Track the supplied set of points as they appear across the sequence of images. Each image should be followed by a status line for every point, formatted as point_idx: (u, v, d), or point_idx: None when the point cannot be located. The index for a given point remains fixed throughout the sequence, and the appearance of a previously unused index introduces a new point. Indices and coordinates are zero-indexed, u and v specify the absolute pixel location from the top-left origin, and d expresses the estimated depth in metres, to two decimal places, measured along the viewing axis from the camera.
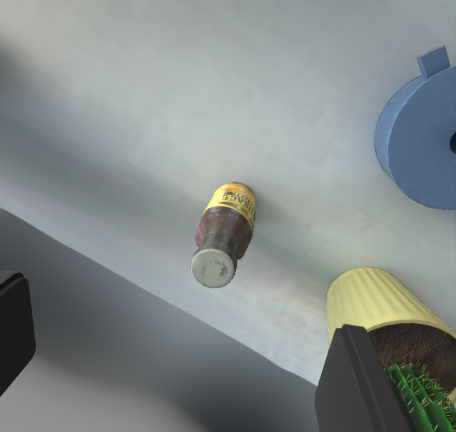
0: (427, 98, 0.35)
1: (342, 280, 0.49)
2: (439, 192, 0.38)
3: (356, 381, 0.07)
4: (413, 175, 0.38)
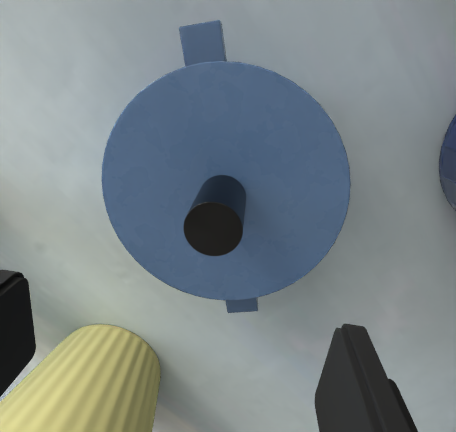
0: (170, 103, 0.19)
1: (70, 338, 0.33)
2: (178, 264, 0.23)
3: (356, 381, 0.07)
4: (141, 226, 0.23)
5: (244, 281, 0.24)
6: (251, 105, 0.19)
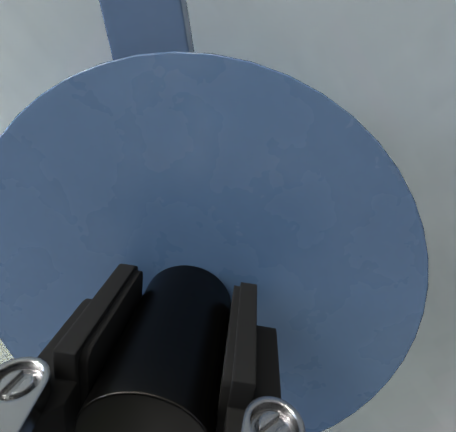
0: (80, 134, 0.10)
1: None
2: None
3: (229, 323, 0.09)
4: (49, 341, 0.13)
5: None
6: (239, 141, 0.10)
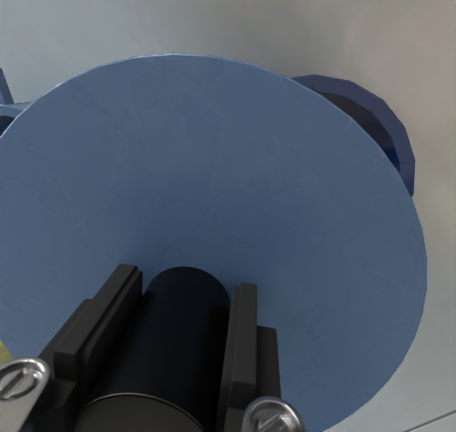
0: (79, 136, 0.10)
1: None
2: None
3: (230, 323, 0.09)
4: (48, 342, 0.13)
5: None
6: (238, 142, 0.10)
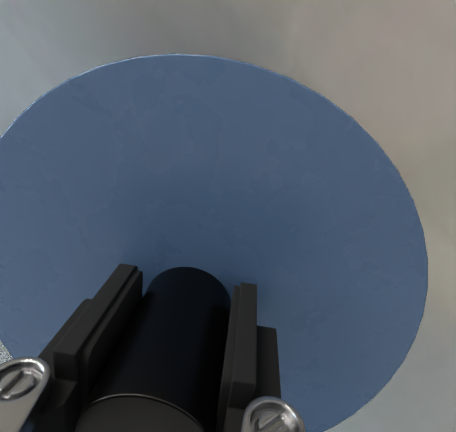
0: (80, 136, 0.10)
1: None
2: None
3: (229, 323, 0.09)
4: None
5: None
6: (238, 142, 0.10)
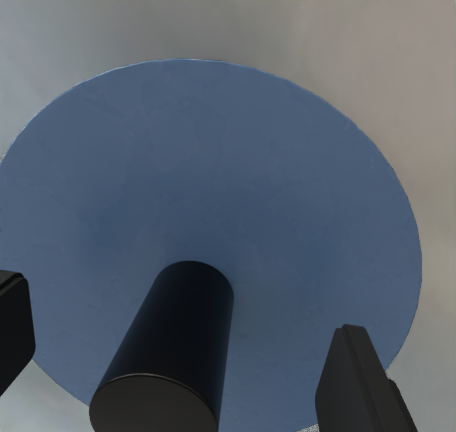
0: (91, 136, 0.10)
1: None
2: None
3: (356, 381, 0.07)
4: (59, 334, 0.13)
5: (232, 419, 0.14)
6: (242, 142, 0.10)
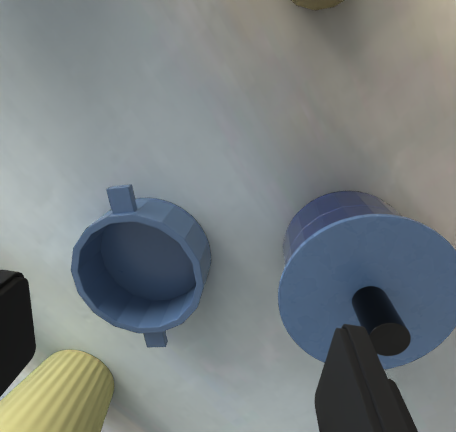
0: (343, 239, 0.28)
1: (48, 360, 0.47)
2: (326, 344, 0.31)
3: (356, 381, 0.07)
4: (302, 316, 0.30)
5: None
6: (402, 243, 0.27)
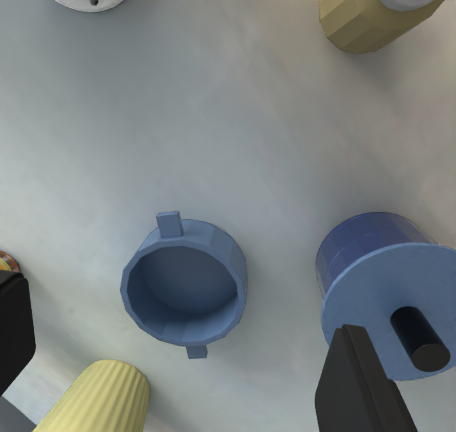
0: (384, 265, 0.30)
1: (89, 370, 0.50)
2: None
3: (356, 381, 0.07)
4: None
5: (409, 369, 0.34)
6: (438, 269, 0.30)
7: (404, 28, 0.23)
